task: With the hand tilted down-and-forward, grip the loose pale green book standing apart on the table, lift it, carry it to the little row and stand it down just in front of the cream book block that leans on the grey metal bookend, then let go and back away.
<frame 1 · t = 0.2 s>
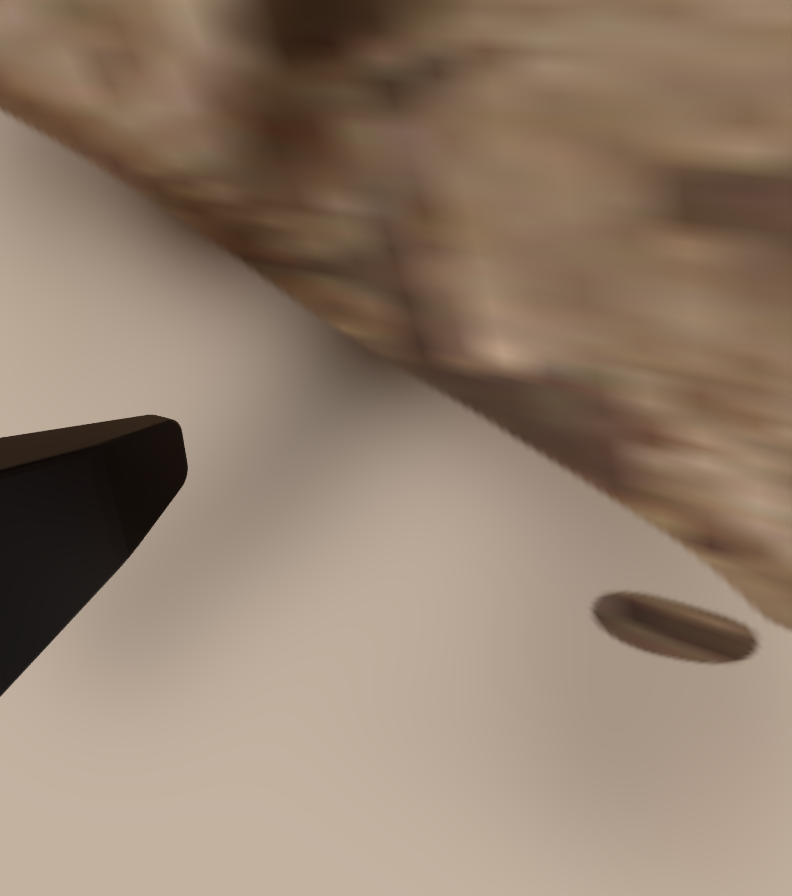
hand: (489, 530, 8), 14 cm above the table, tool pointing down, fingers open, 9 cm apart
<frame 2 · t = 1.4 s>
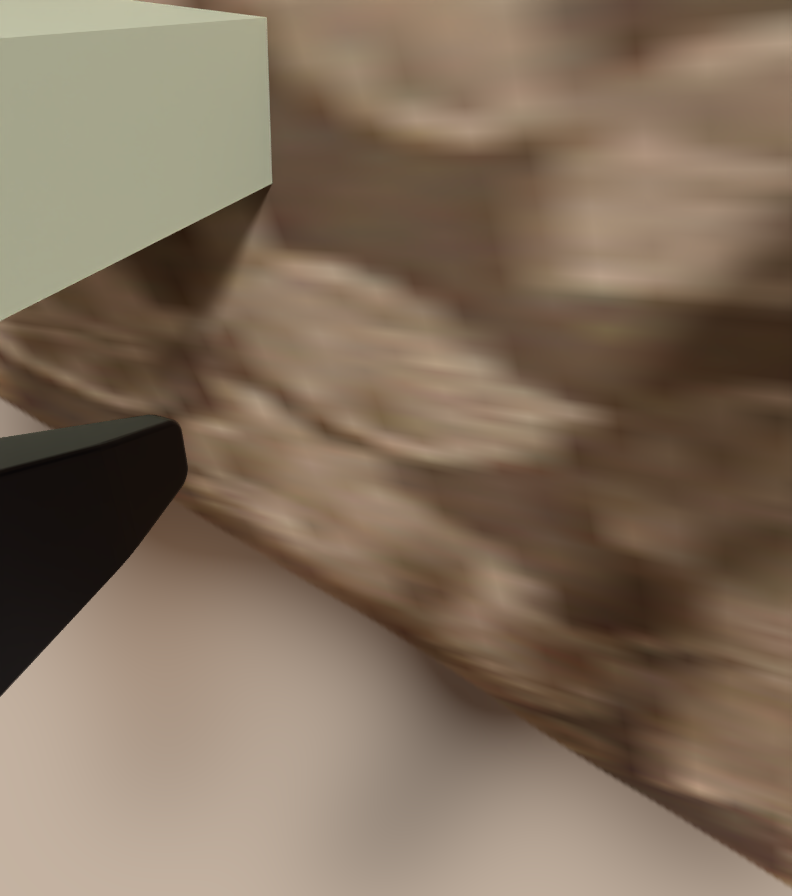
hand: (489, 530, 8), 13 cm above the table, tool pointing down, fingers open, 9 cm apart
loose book: (166, 89, 20), on the table
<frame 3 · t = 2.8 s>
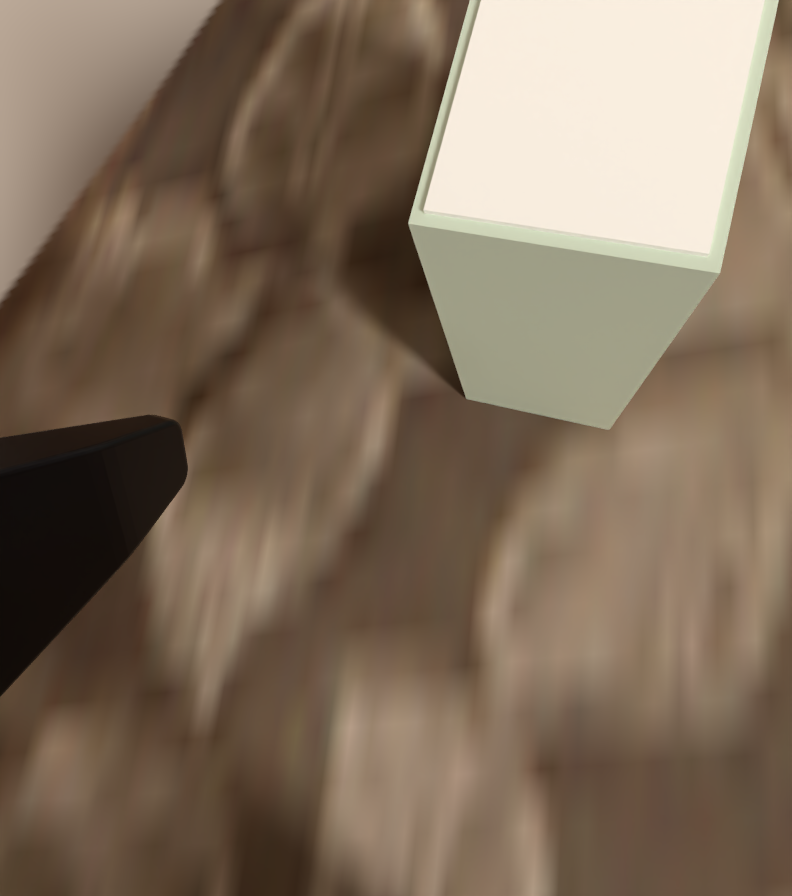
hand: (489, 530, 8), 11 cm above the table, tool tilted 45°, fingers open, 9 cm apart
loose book: (561, 307, 20), on the table
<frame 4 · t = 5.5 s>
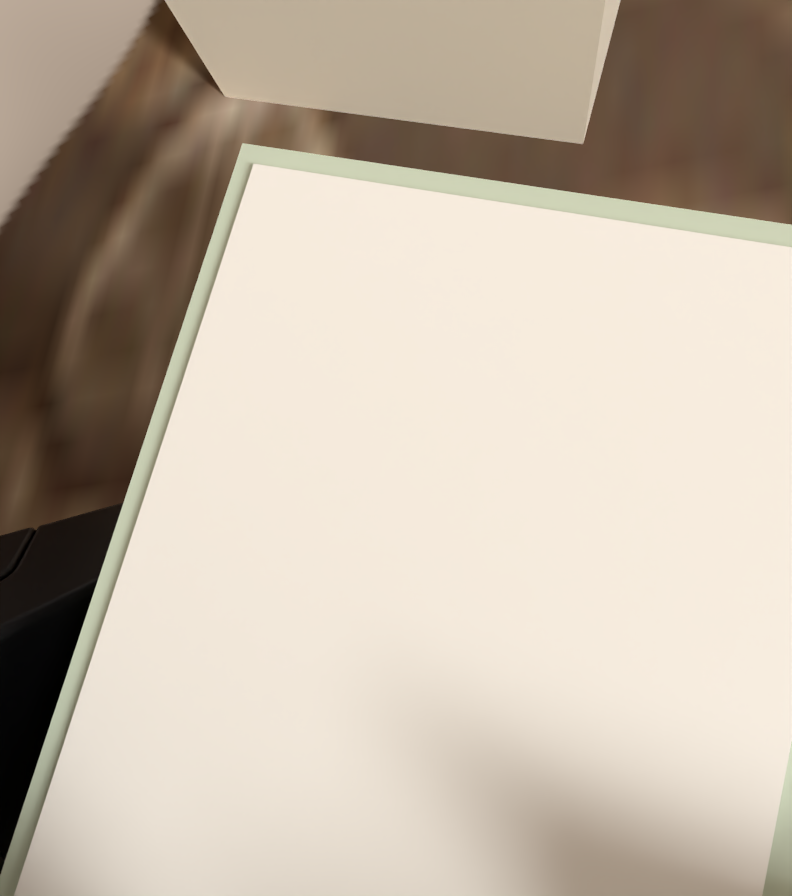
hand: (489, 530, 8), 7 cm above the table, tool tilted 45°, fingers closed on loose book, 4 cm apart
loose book: (486, 607, 14), on the table, touching gripper
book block: (417, 38, 17), on the table
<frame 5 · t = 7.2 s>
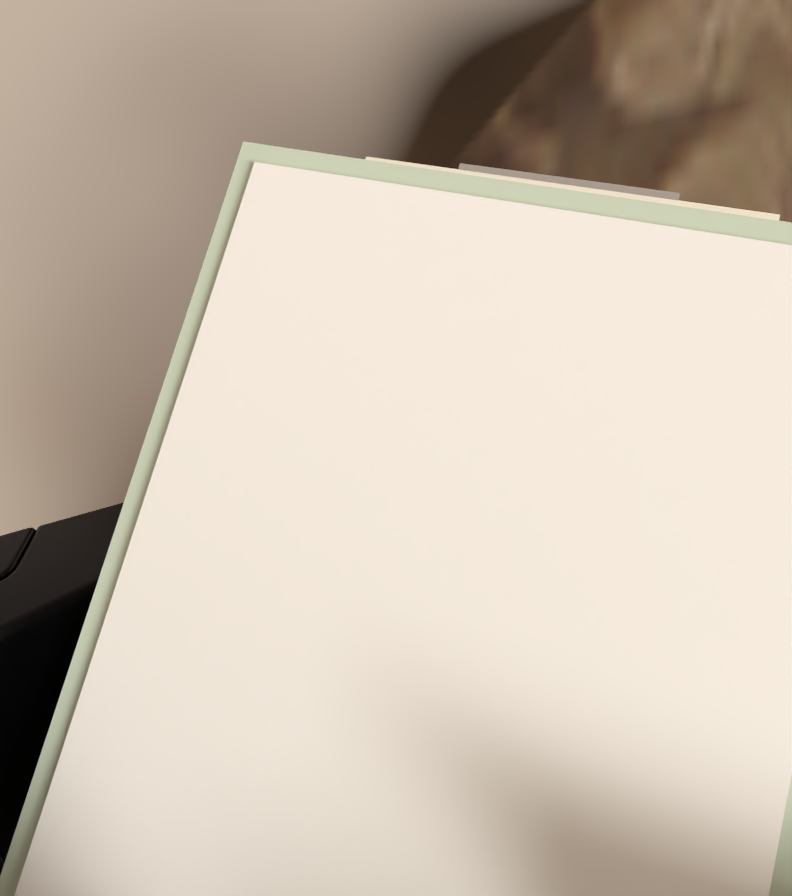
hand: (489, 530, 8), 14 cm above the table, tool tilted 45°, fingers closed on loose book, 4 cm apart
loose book: (487, 607, 14), point 8 cm above the table, touching gripper
bookend: (552, 285, 23), on the table
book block: (529, 376, 23), on the table
when the fingers open (7 cm above the table, at t = 8.8 s): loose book stays where it is, on the table.
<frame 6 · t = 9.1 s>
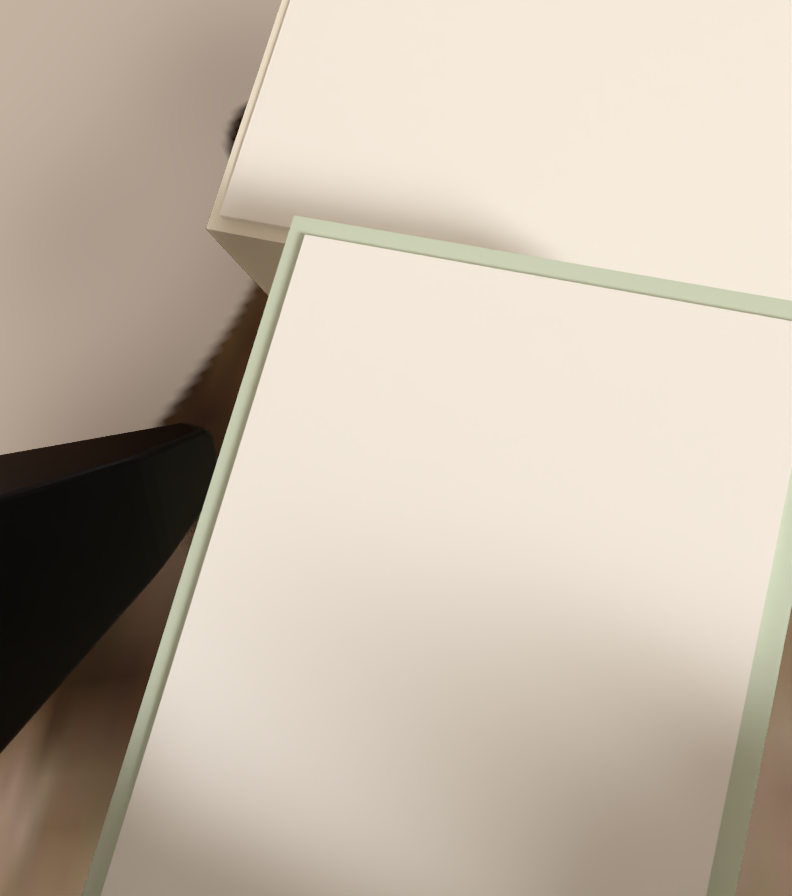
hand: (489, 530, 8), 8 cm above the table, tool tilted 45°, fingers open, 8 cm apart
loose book: (490, 605, 15), on the table
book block: (558, 329, 16), on the table
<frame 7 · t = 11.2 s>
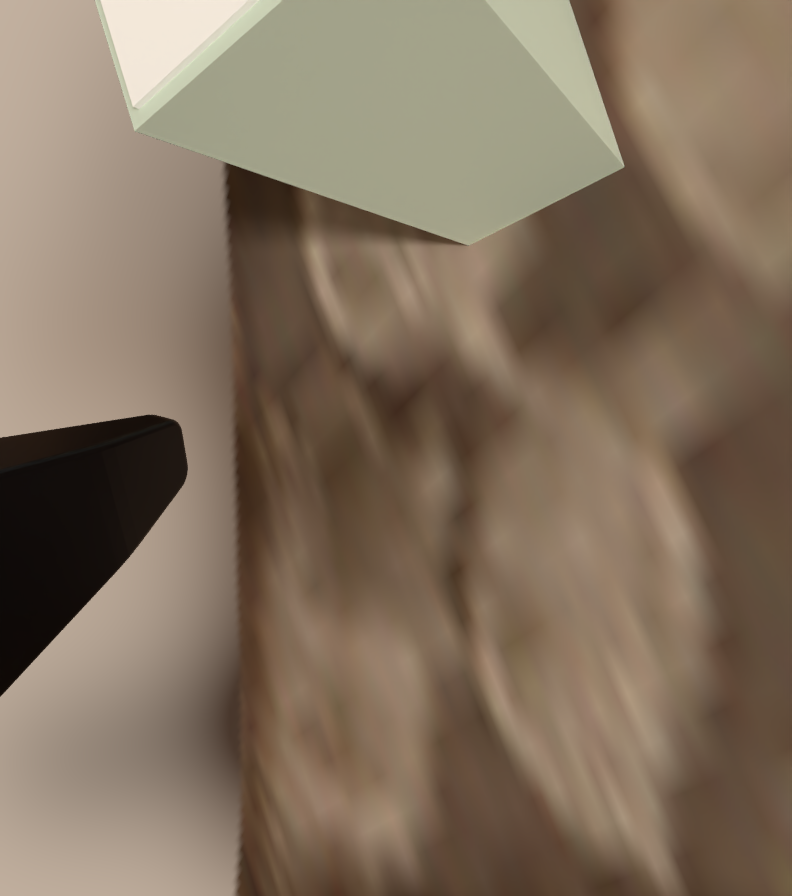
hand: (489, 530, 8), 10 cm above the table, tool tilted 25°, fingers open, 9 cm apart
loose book: (500, 84, 17), on the table
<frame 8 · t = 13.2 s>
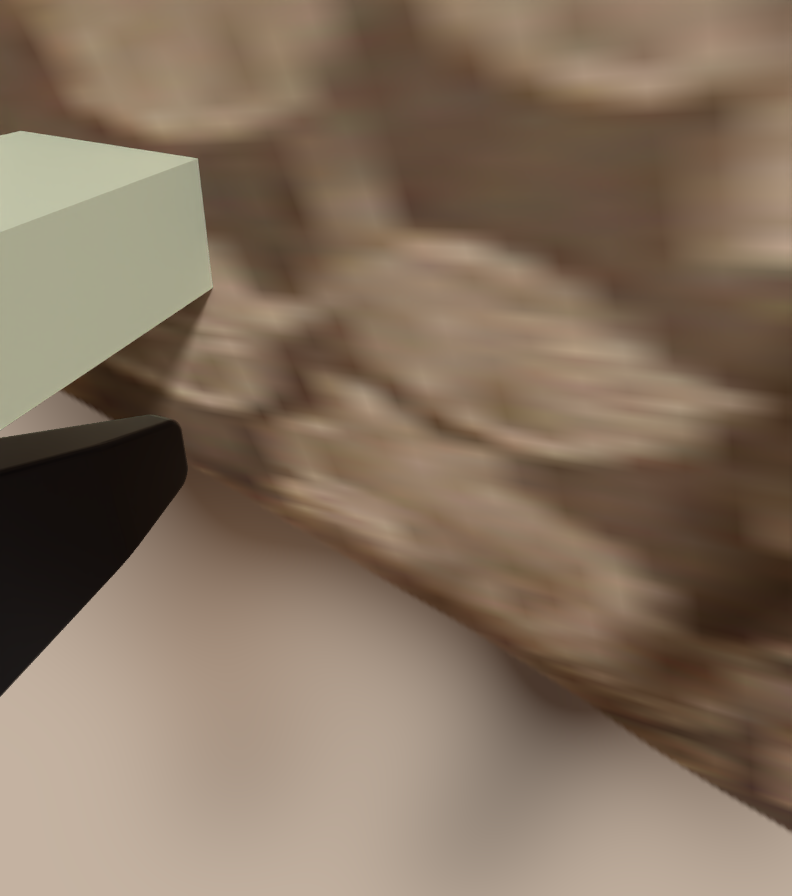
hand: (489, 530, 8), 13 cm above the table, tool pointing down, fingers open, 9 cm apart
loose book: (119, 211, 23), on the table
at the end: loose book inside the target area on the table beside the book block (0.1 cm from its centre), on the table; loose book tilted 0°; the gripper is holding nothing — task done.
